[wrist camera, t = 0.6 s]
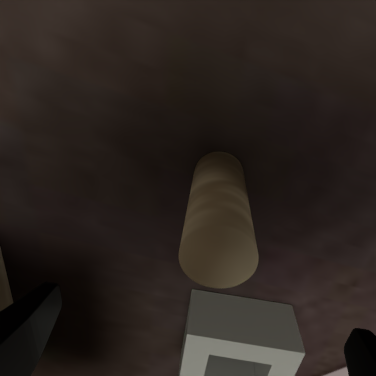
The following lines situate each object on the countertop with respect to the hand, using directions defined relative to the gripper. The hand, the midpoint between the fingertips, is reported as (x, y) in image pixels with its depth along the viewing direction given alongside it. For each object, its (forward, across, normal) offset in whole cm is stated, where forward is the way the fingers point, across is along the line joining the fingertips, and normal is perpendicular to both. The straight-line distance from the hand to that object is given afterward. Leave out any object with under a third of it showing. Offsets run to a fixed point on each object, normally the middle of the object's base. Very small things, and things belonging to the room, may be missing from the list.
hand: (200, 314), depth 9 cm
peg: (+13, 0, +1) cm, 13 cm away
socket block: (+13, -4, +17) cm, 22 cm away
